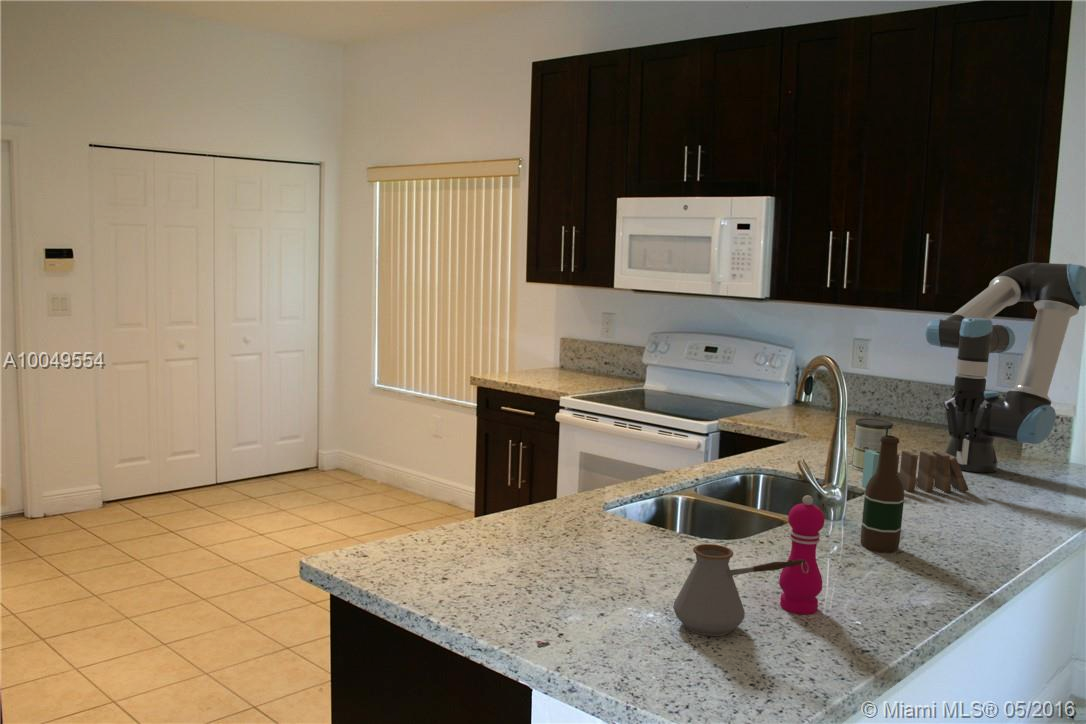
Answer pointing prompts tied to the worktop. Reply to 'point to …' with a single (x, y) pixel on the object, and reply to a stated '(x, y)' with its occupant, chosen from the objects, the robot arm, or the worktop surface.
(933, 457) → the domino
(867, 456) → the domino
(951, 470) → the domino
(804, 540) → the pepper mill
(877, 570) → the worktop surface
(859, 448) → the coffee can
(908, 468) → the domino
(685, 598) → the coffee pot
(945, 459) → the domino
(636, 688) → the worktop surface
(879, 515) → the beer bottle
